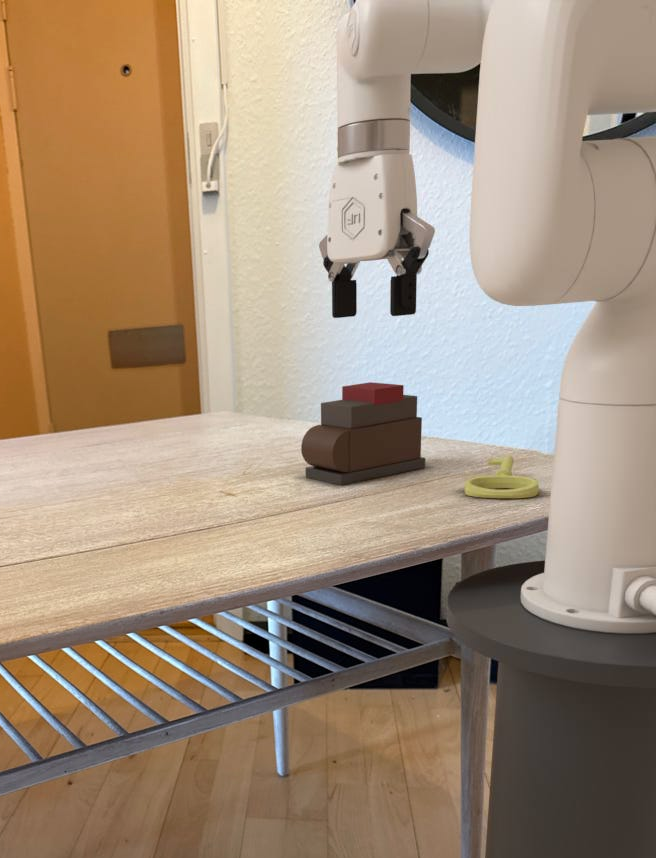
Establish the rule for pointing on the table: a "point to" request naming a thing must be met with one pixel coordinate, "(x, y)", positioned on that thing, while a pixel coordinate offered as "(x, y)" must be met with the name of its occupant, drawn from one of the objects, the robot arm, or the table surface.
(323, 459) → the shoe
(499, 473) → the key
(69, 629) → the table surface
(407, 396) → the two-tier step block
